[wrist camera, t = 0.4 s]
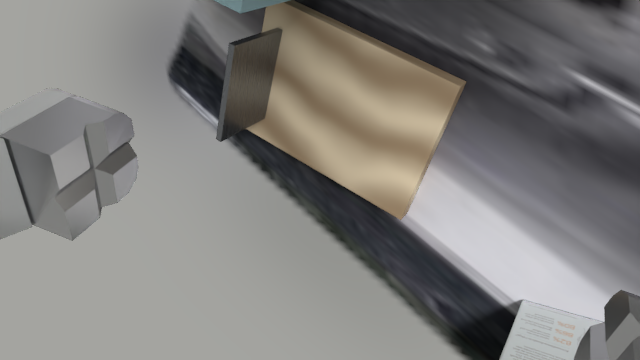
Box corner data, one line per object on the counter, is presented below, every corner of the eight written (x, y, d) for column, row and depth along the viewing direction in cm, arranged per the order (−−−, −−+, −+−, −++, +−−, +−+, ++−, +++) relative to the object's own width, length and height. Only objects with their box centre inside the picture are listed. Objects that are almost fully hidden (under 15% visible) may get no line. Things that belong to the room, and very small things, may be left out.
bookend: (264, 20, 50) (215, 35, 44) (282, 29, 49) (234, 45, 44) (249, 109, 56) (203, 131, 50) (264, 118, 55) (220, 141, 50)
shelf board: (277, -8, 49) (268, -5, 48) (466, 81, 43) (460, 86, 42) (253, 123, 58) (244, 128, 57) (406, 213, 52) (400, 220, 51)
